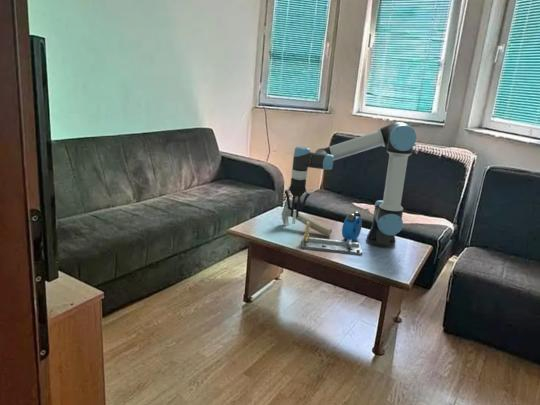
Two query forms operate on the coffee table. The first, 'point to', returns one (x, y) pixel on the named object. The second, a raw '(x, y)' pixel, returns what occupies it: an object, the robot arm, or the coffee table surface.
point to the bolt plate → (331, 247)
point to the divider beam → (335, 242)
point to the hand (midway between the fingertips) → (293, 222)
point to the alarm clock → (352, 226)
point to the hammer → (305, 220)
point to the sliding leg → (306, 233)
